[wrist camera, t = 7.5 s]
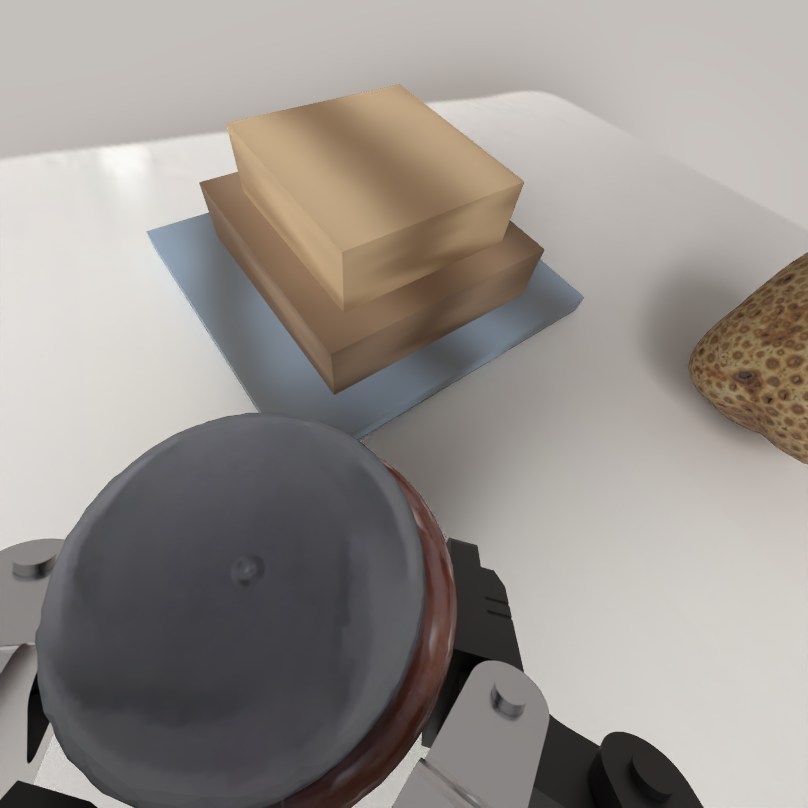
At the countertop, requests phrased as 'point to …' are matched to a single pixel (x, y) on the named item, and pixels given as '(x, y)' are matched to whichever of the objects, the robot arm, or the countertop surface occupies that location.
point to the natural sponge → (762, 361)
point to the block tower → (360, 259)
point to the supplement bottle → (247, 621)
